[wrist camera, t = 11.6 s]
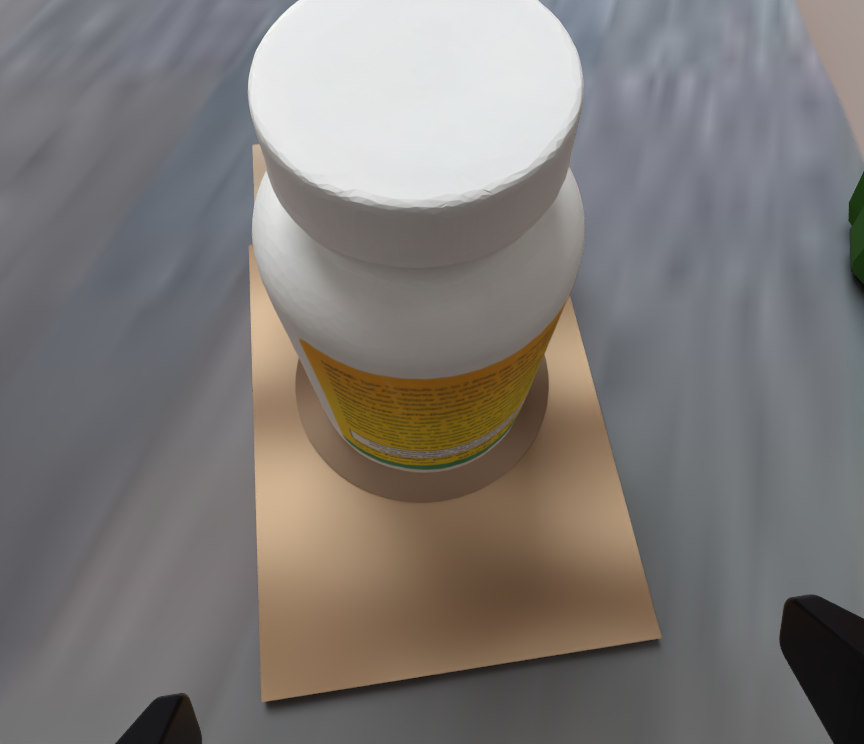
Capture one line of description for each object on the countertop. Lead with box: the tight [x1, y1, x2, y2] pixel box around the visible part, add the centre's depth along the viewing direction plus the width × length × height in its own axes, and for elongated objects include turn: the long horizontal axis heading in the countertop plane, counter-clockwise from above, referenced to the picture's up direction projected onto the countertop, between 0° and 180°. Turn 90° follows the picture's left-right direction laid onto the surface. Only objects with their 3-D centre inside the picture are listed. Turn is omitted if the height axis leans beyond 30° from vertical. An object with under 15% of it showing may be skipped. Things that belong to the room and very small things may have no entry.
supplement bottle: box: [248, 0, 585, 473], centre depth 15 cm, size 7×7×13 cm
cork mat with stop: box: [249, 144, 662, 702], centre depth 19 cm, size 16×12×5 cm
